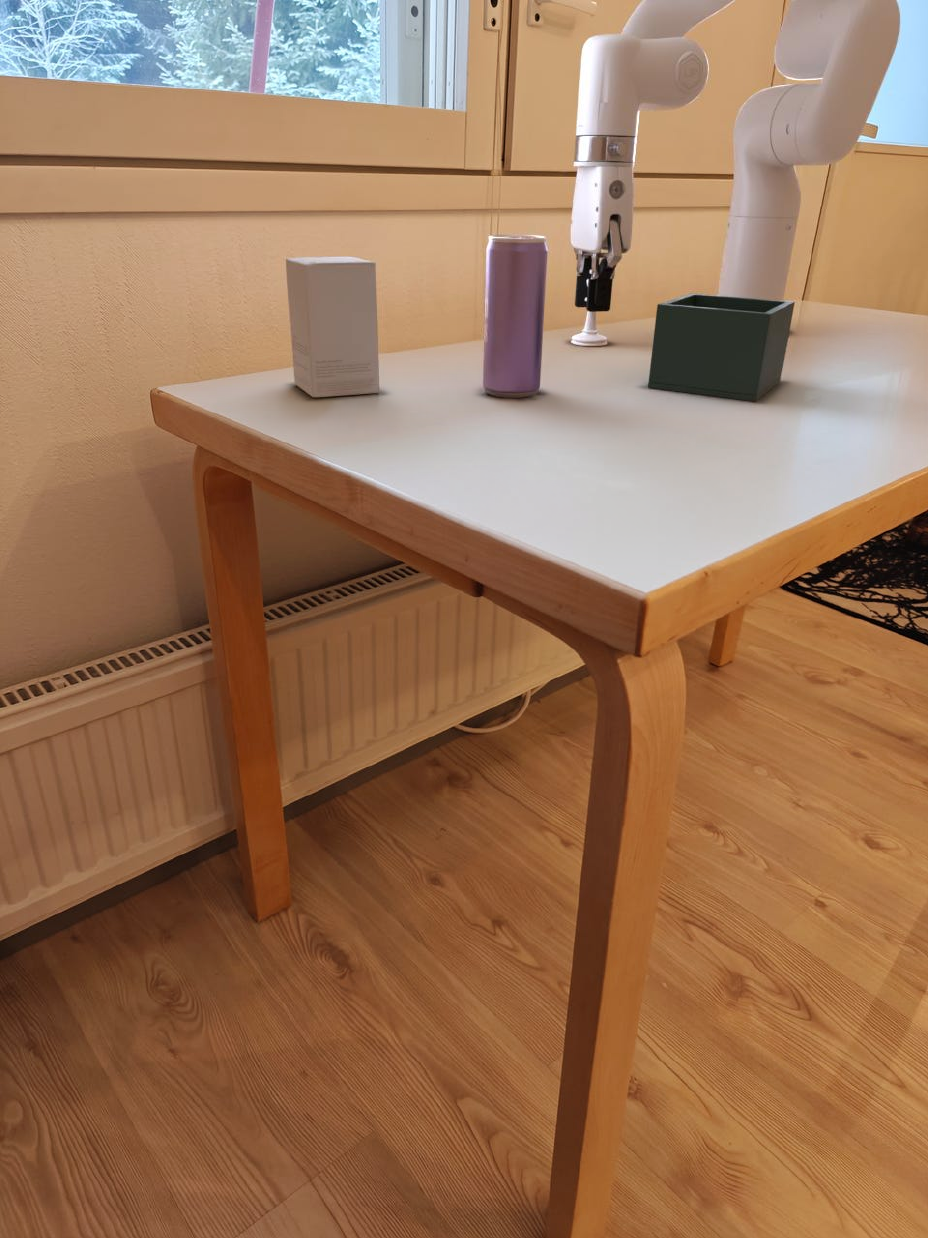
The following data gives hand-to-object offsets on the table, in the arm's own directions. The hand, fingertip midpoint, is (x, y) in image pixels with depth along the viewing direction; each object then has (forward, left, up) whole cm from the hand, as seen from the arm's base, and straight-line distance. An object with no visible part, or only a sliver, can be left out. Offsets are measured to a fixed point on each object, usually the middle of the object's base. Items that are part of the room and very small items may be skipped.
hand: (592, 307), depth 116 cm
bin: (+16, +22, -5) cm, 28 cm away
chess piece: (0, 0, -5) cm, 5 cm away
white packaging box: (+42, -11, -5) cm, 44 cm away
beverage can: (+33, +5, -5) cm, 34 cm away
